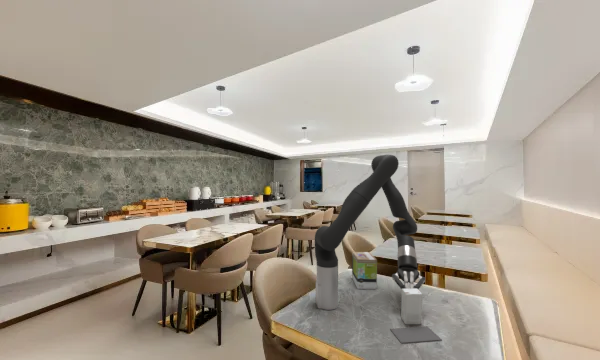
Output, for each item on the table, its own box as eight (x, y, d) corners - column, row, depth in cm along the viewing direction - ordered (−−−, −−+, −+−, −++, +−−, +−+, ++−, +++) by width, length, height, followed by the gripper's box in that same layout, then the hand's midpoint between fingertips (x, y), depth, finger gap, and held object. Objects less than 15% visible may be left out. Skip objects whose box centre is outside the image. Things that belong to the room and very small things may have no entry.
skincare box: (416, 317, 98) (417, 287, 97) (421, 325, 94) (423, 293, 92) (400, 317, 98) (401, 287, 97) (404, 325, 94) (406, 293, 92)
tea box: (377, 289, 126) (377, 259, 126) (357, 289, 126) (356, 259, 126) (369, 278, 141) (369, 251, 141) (351, 278, 141) (351, 251, 141)
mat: (401, 343, 83) (401, 342, 83) (390, 329, 91) (390, 328, 91) (441, 340, 84) (441, 339, 84) (427, 327, 92) (427, 326, 92)
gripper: (390, 253, 109) (391, 293, 97) (424, 255, 105) (430, 298, 93) (390, 261, 114) (391, 301, 102) (423, 264, 110) (428, 306, 98)
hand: (410, 299), depth 98 cm, fingers closed
